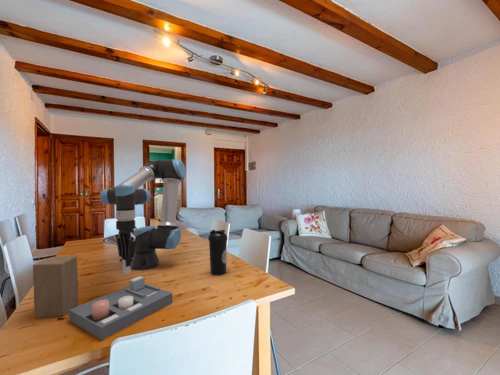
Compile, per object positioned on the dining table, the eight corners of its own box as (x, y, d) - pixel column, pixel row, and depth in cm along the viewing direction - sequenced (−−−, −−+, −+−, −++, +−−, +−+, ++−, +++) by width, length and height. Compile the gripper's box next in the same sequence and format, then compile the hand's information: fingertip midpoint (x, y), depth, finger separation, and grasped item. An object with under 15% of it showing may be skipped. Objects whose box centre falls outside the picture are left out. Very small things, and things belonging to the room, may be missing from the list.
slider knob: (129, 289, 104) (129, 279, 104) (140, 285, 109) (140, 275, 108) (133, 291, 103) (133, 281, 103) (144, 287, 107) (144, 277, 107)
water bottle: (224, 276, 129) (223, 232, 128) (206, 275, 131) (205, 232, 130) (230, 269, 139) (229, 228, 138) (212, 268, 141) (212, 228, 140)
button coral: (89, 318, 84) (89, 304, 84) (104, 312, 89) (104, 298, 89) (97, 322, 82) (96, 308, 82) (112, 315, 86) (112, 301, 86)
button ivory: (115, 313, 92) (115, 299, 92) (128, 307, 96) (128, 294, 96) (123, 316, 90) (123, 303, 89) (136, 310, 94) (135, 297, 94)
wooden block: (53, 305, 101) (51, 256, 101) (79, 303, 102) (77, 255, 101) (34, 318, 91) (32, 264, 91) (62, 316, 92) (61, 263, 91)
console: (69, 320, 89) (68, 306, 89) (139, 290, 113) (139, 280, 113) (101, 340, 78) (101, 324, 78) (172, 302, 102) (172, 290, 101)
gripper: (108, 219, 109) (109, 273, 109) (126, 221, 102) (127, 279, 102) (125, 217, 115) (126, 268, 115) (142, 219, 108) (143, 273, 109)
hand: (126, 273), depth 109 cm, fingers closed
